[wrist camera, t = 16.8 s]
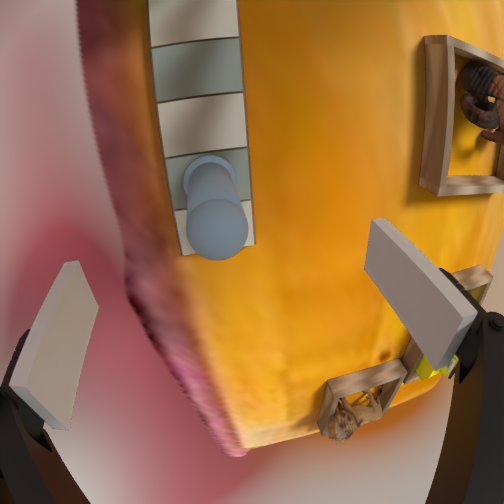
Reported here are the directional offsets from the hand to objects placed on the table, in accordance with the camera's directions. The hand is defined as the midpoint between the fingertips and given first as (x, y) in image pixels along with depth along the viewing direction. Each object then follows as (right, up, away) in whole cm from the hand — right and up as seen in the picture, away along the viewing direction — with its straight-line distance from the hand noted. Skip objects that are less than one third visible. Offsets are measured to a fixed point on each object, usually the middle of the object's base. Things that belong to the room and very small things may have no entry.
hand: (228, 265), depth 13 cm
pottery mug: (+27, +19, +12) cm, 35 cm away
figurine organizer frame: (+21, -27, +38) cm, 51 cm away
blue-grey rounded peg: (-2, +6, +11) cm, 13 cm away
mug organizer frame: (+27, +16, +13) cm, 35 cm away
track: (-3, +11, +10) cm, 15 cm away
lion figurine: (+19, -27, +38) cm, 51 cm away
